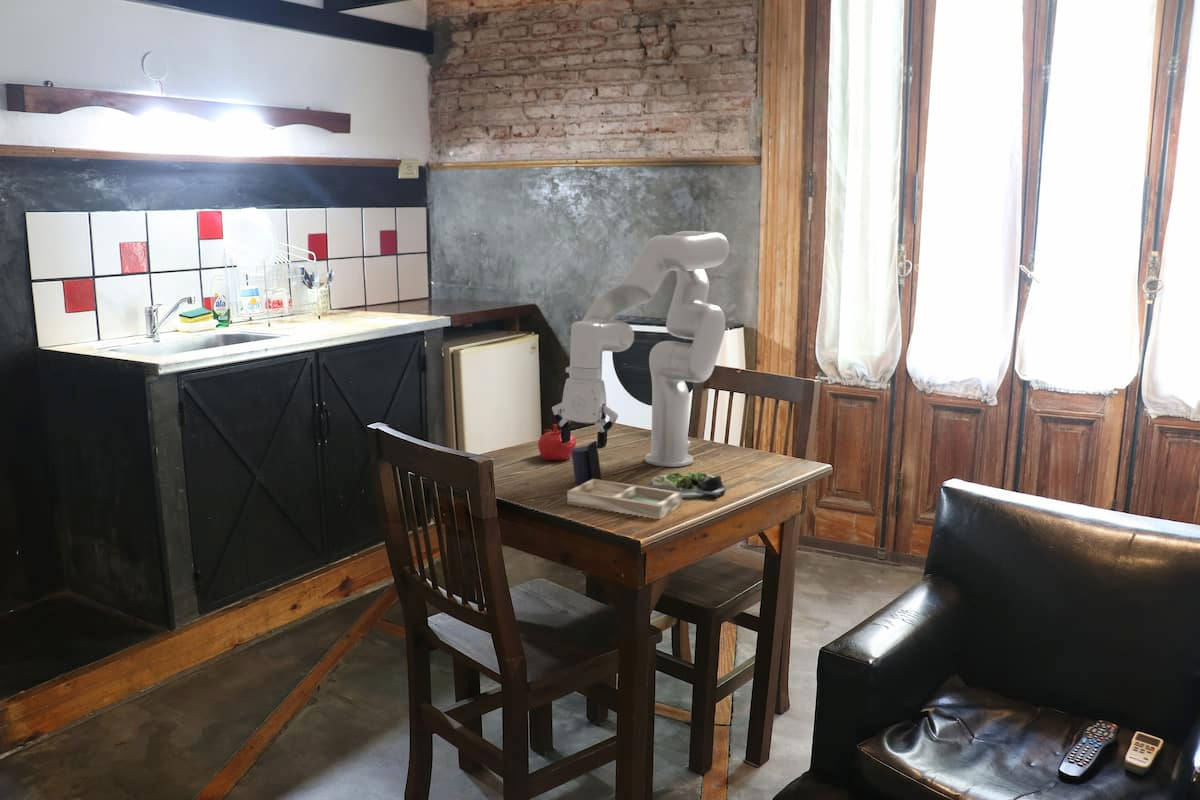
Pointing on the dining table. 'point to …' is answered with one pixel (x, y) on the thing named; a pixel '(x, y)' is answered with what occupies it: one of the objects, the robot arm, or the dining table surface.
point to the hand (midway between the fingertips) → (583, 444)
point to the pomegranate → (555, 445)
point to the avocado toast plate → (690, 484)
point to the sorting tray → (625, 498)
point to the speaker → (586, 463)
